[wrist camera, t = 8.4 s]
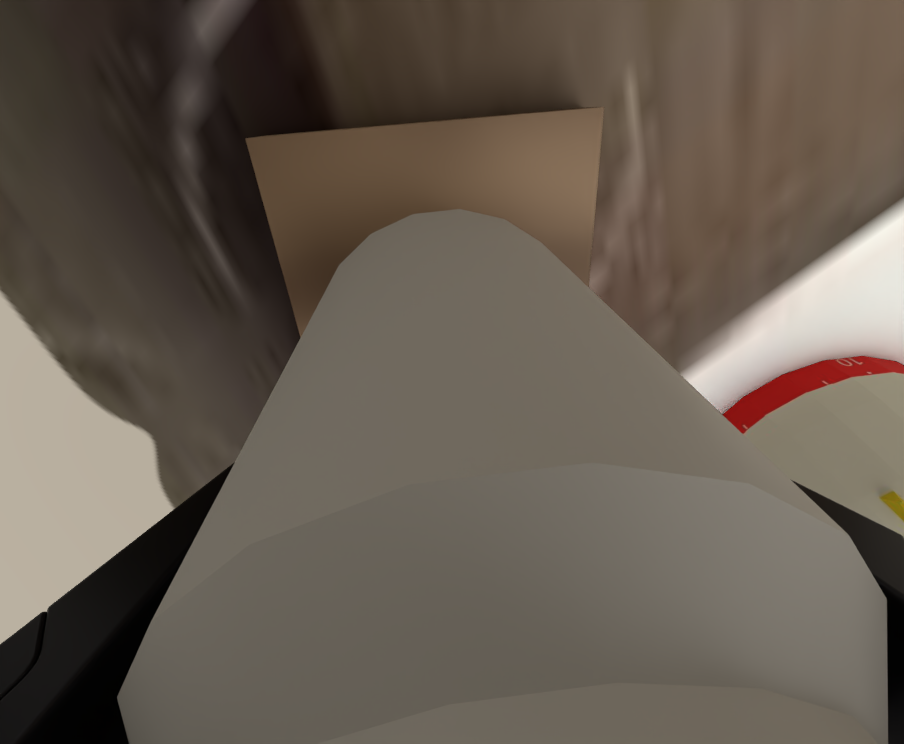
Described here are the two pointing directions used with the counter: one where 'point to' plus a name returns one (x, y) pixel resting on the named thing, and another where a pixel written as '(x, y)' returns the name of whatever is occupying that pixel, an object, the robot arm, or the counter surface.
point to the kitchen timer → (835, 432)
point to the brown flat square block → (426, 186)
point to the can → (503, 536)
